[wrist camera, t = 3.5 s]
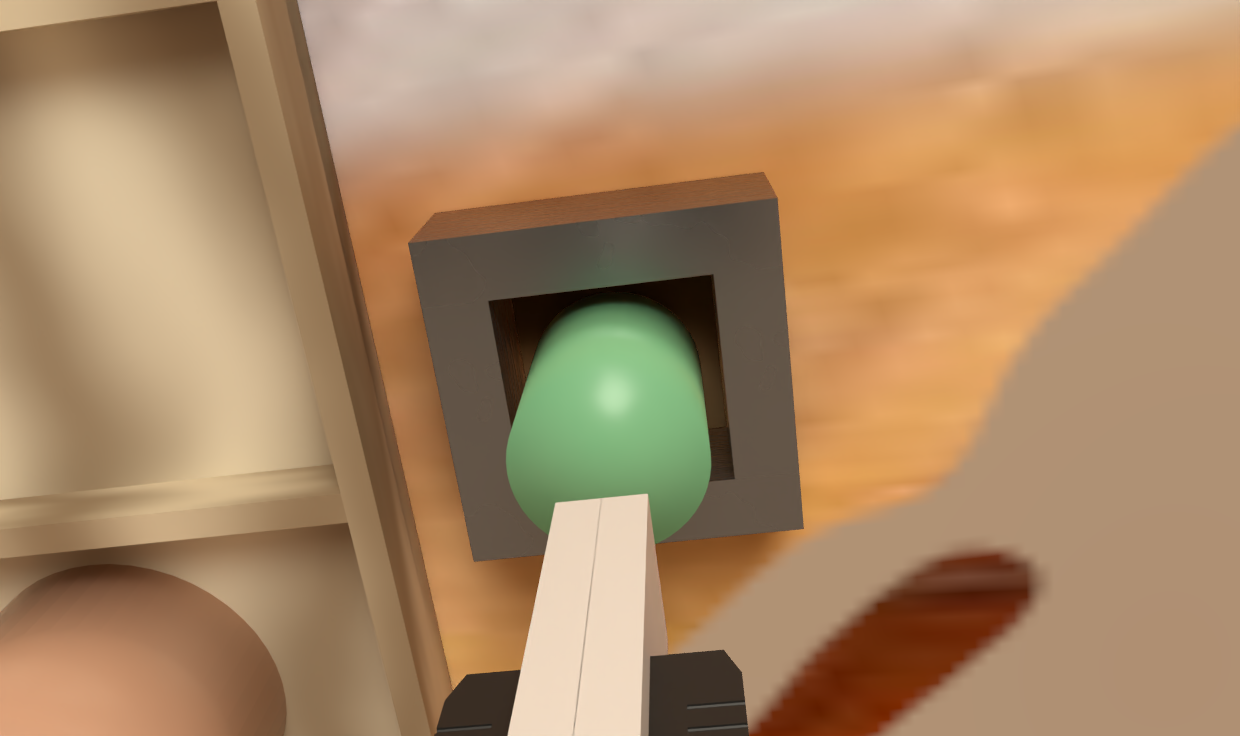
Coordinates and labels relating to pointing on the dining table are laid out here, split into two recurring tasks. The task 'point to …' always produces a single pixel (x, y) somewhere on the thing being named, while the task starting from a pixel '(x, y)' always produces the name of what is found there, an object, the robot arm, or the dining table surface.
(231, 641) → the taupe pillar candle
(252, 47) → the wooden serving tray
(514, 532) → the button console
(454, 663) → the dining table surface
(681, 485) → the button
